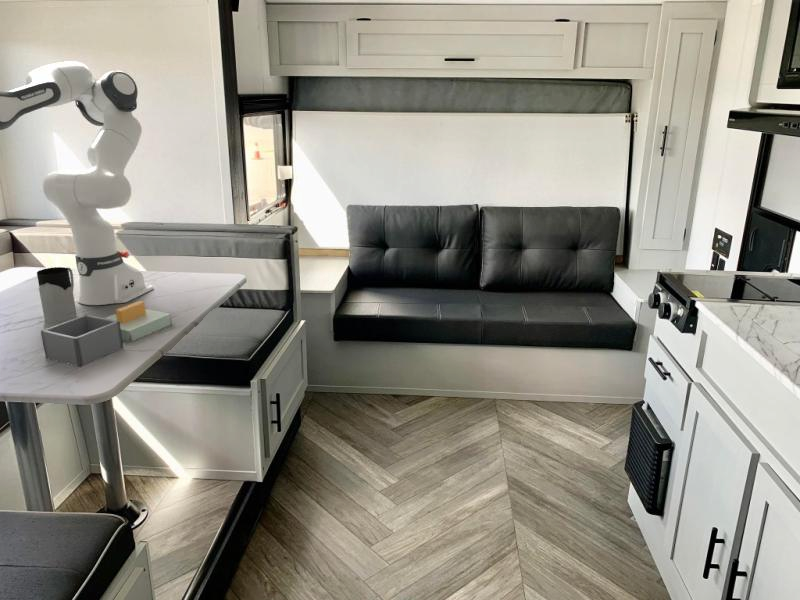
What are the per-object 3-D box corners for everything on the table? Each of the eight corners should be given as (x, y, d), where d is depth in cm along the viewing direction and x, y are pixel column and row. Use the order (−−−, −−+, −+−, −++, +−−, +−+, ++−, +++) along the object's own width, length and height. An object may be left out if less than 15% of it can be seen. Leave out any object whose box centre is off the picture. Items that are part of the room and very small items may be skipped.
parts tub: (90, 340, 160) (85, 314, 158) (123, 347, 156) (119, 321, 154) (45, 358, 149) (40, 330, 147) (80, 366, 145) (75, 338, 143)
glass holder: (37, 329, 167) (27, 275, 162) (62, 311, 181) (53, 261, 176) (70, 329, 168) (61, 275, 163) (93, 311, 181) (85, 261, 176)
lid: (135, 316, 177) (132, 294, 175) (171, 323, 172) (169, 301, 170) (93, 333, 165) (89, 310, 162) (130, 342, 159) (127, 318, 157)
